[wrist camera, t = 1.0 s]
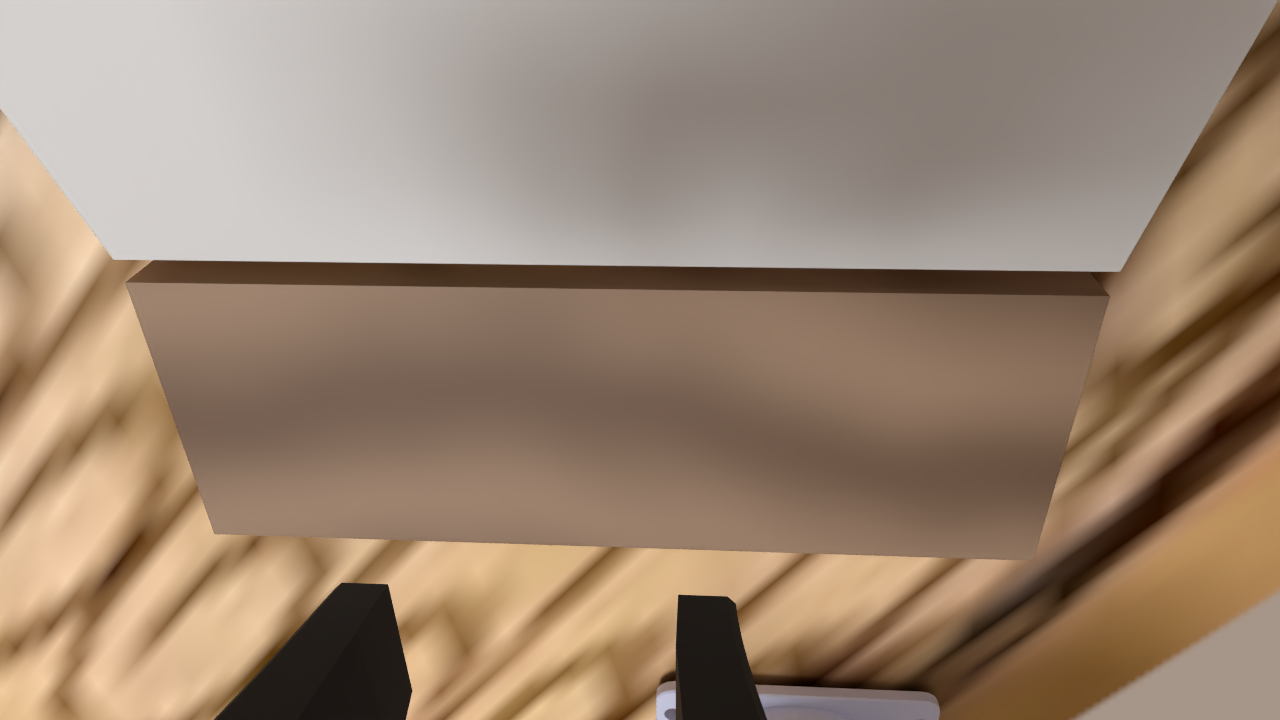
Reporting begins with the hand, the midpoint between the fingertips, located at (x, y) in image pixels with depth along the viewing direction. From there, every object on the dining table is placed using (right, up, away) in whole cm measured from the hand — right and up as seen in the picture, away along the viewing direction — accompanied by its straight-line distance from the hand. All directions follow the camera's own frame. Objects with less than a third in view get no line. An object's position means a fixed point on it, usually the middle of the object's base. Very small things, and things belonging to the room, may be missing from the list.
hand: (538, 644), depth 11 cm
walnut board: (+1, +3, +9) cm, 10 cm away
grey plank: (0, +9, +4) cm, 10 cm away
